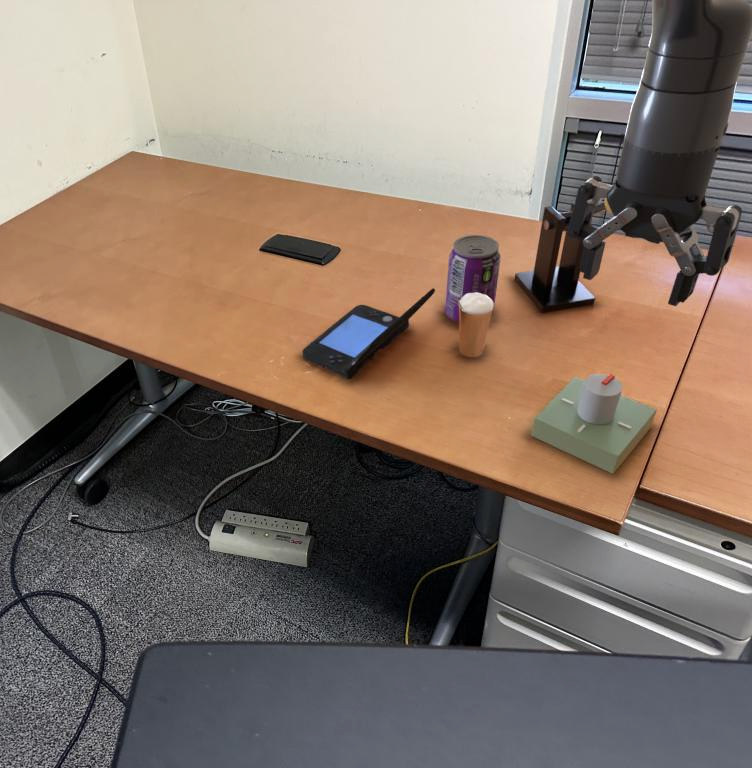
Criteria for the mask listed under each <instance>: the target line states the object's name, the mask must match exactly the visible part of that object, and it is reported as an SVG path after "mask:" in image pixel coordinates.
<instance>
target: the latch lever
mask: <svg viewBox="0 0 752 768" xmlns="http://www.w3.org/2000/svg"><path fill="white" fill-rule="evenodd" d="M607 211H608V212H609V213H610V214H612V215H613V213H612V211H611V209H610V207H609V205H608V203H607V199H606V198H604V201H603V202H601V203H598V204H596V205H595V209H594V212H593V217H595V216H597V215H599V214H602V213H605V212H607ZM572 212H573V211H571V212H570V211H566V212H561V213H559V214H560V215H561V216H563V217H564V218H565V222H564V228H563V232H566V231H568V227H569V223H570V219H571V216H572Z"/></svg>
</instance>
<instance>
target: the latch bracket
mask: <svg viewBox="0 0 752 768" xmlns="http://www.w3.org/2000/svg"><path fill="white" fill-rule="evenodd" d="M574 204H575V201H573V202H571V204H570V209H569V212H571V211H573V208H574ZM560 214H561V213H560V212H558V211H557V210H556V209H555V208H554V207H553V206H552V205H549V206H547V205H546V206H545V207H544V208H543V215H542V220H541V226H540V231H539V238H538V244H537V250H536V256H535V262H534V268H533V270H528V271H522V272H515V273H514V281H515V282H516V284H517V285H518V286H519V287H520V289H521V290H522V291H523V292H524V294H525V295H526V296H527V297H528V298H529V300H530V301H531V302H532V303H533V305H534V306H535V307H536V308H537V309H538V311H539V312H540V313H541V314H545V313H546V314H547V313H551V312H557V311H565V310H569V309H575V308H582V307H587V306H594V305H595V301H596V297H595V296H594V295H593V294H592V292H591V291H590V290H589V289H587V288H586V287H585V286H584V284H583V283H582V282H581V281H580V276H581V271H580V264H581V259H582V254H583V249H584V245H583V243H582V242H581V241H580V240H579V239H577V238H574V239H573V238H570V237H569V236H568V234H567V231H565V233H564V239H563V244H562V248H561V254H560V258H559V253H560V247H561V242H562V237H563V228H564V222H565V218H564V217H563V216H561V215H560ZM593 217H594V216H592V218H593ZM592 221H593V219H592V220H591V223H590V225H591V226H592ZM558 258H559V265H558ZM557 265H558V266H557Z"/></svg>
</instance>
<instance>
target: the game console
mask: <svg viewBox="0 0 752 768" xmlns="http://www.w3.org/2000/svg"><path fill="white" fill-rule="evenodd" d="M435 292H436V289H435V288H434V287H433V288H431V289H429V291H427V292H426V293H425V294H424V295H423V296H421V298H420V299H418V300H417V301H416V302H415V303H414V304H413V305H411V306H410V307H409V308H408V309H407V310H405V312H403V314H402V315H400V316H398V315H394V314H392V313H389V312H386V311H384V310H381V309H378V308H374V307H372V306H369V305H366V304H358V305H355V306H354V307H353V308H352V309H350V310H349V311H348V312H347V313H346V314H344V315H343V316H342V317H340V319H338V320H337V321H336V322H335V323H333V324H332V325H331V326H330V327H328V328H327V329H326V330H325V331H324V332H322V333H321V334H320V335H319V336H318V337H316V338H314V340H313V341H311V342H310V343H309V344H308V345H306V346H305V347H304V348H303V349H302V352H301V353H302V357H303V359H304V360H306V361H308V362H309V363H312V364H314V365H316V366H319V367H321V368H323V369H325V368H326V370H328V371H331V372H332V373H334V374H337V375H339V376H340V377H344V378H345V379H346V380H351V379H353V378H354V377H355V376H356V375H357V374H358V373H359V372H360V371H361V370H362V369H363V368H364V367H365V366H367V364H369V362H371V361H372V360H373V359H374V358H375V355H376V354H377V353H378V352H380V350H382V349H385V347H388V345H390V344H391V343H392V342H393V341H394V340H395V339H396V338H397V337H399V336H400V335H401V334H402V333H404V332H405V331H407V329H408V328H409V326H410V319H411V318H412V317H414V315H415V314H416V313H417V312H418V311H419V310H420V308H422V307H423V306H424V304H426V303H427V301H429V299H430V298H431V297H432V296H433V295H434V294H435Z"/></svg>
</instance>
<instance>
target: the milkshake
mask: <svg viewBox="0 0 752 768" xmlns="http://www.w3.org/2000/svg"><path fill="white" fill-rule="evenodd" d="M457 300H458V303H459V322H458V350H459V353H460V355H462V356H464V357H465V358H473V359H474V358H478V357H481V355H482V354H483V352H484V349H485V344H486V340H487V336H488V331H489V327H490V322H491V319H492V317H491V315H492V311H493V307H494V308H495V305H494V303H493V301H492V299H490V298H489V297H488V296H487V295H484V294H481V293H477V292H476V293H468V294H466V295H464V296H463V297H462V298H461V299H460V301H459V299H458V298H457ZM492 316H493V315H492Z"/></svg>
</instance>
